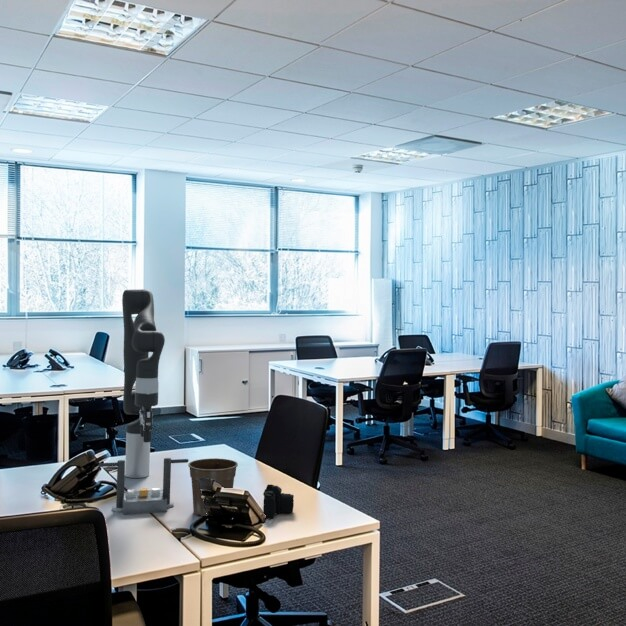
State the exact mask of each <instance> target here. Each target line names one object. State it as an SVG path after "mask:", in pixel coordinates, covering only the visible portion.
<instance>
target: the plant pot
mask: <svg viewBox="0 0 626 626" xmlns="http://www.w3.org/2000/svg"><path fill="white" fill-rule="evenodd" d="M187 465H188V468H189V476H190V478H191V489H192V506H193V507H192V508H193V514H194V515H197V516H202V517H203V516H206V515H207V514H206V512H205V510H204V506H203V504H204V501H203V499H202V498H201V490H200V489H199V481H200V479H201V478H209V479H213V480H215V481H217V482H218V483H220V484H221V485H222V487H224V488H233V489H234V482H235V477H236V471H237V467H238V466H239V463H238V462H237V461H235V460H232V459H226V458H212V457H211V458H202V459H196V460H192V461H190V462H188V464H187Z"/></svg>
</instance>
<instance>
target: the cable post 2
mask: <svg viewBox="0 0 626 626" xmlns="http://www.w3.org/2000/svg"><path fill="white" fill-rule="evenodd" d="M182 463H183V464H184V463H185V464H187V463H189V459H188V458H180V459H178V458H177V459H172V458H171V457H165V458H163V470H162V471H163V475H162V477H163V478H162V489H163V495H166V497H167V509H171V508H173V507H174V506H175V504H174V502H172V501H171V477H172V476H171V474H172V473H171V471H172V464H182Z"/></svg>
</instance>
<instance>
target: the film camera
mask: <svg viewBox="0 0 626 626" xmlns="http://www.w3.org/2000/svg"><path fill="white" fill-rule="evenodd" d="M282 490H283V489H282V488H281V487H280V486H279V485H274V484H267V485H266V488H265V489H264V491H263V494H262V495H263V508H262V509H263V510H262V511H263V512H262V514H263V513H264V514H265V515H266V518H267V519H266V520H273V519H274V517H275V516H276V514H275V513H279V514H284V513H285V514H290V513H293V512H294V506H295V505H294V502H295V501H294V498H295V497H294V494H291V493H284V492H282ZM272 518H273V519H272Z"/></svg>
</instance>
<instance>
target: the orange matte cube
mask: <svg viewBox="0 0 626 626" xmlns="http://www.w3.org/2000/svg"><path fill="white" fill-rule="evenodd" d="M139 491H140V497H143V496H148V488H143V487H142V488H139Z"/></svg>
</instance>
